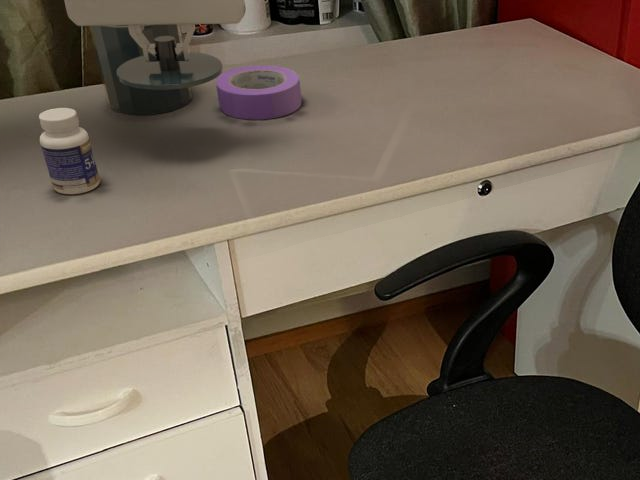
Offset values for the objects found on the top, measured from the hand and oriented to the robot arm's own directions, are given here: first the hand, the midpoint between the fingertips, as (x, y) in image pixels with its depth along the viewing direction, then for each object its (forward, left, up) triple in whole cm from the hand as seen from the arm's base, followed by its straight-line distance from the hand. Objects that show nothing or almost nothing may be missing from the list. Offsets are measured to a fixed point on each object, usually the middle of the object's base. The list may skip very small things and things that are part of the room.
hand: (168, 60), depth 107 cm
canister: (-7, +17, -11) cm, 22 cm away
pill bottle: (-11, -11, -11) cm, 19 cm away
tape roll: (+9, +14, -11) cm, 20 cm away
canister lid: (0, 0, -2) cm, 2 cm away
